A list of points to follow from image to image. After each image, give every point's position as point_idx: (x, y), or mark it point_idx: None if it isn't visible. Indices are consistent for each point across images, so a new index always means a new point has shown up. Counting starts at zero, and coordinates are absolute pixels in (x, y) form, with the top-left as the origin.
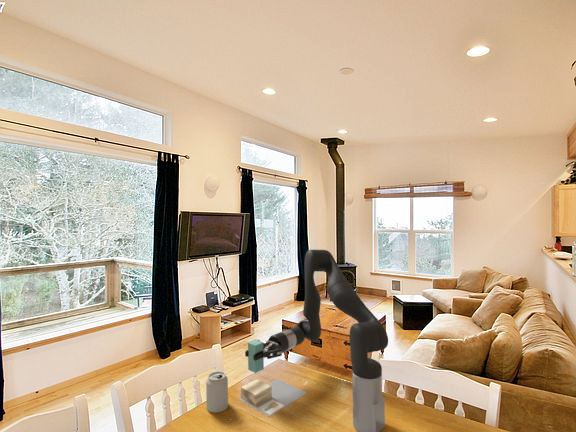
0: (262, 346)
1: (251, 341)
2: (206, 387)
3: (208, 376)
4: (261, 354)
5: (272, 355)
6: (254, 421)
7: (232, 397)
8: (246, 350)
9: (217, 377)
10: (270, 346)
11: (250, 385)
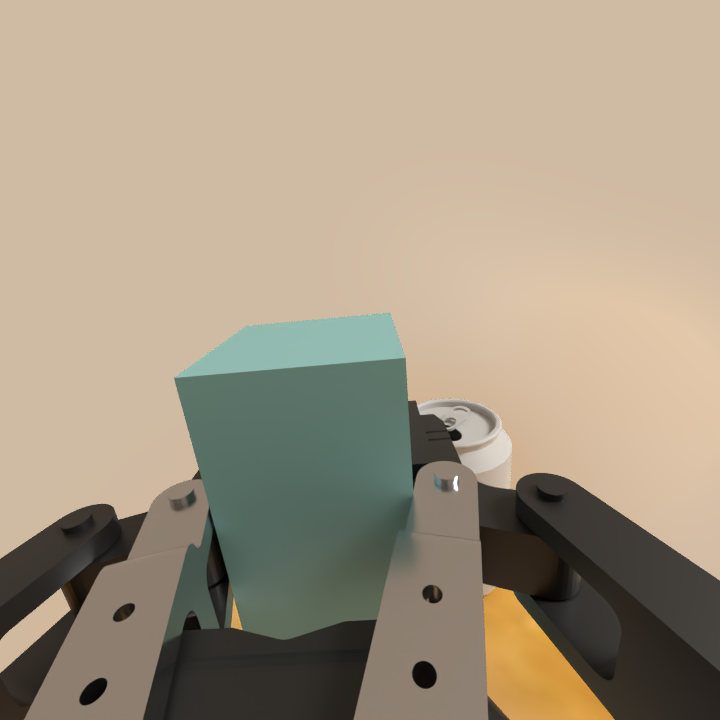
0: (201, 435)
1: (391, 327)
2: (460, 437)
3: (464, 400)
4: (199, 474)
5: (24, 697)
6: (231, 627)
7: (521, 686)
8: (409, 401)
9: (508, 470)
10: (46, 698)
11: None
